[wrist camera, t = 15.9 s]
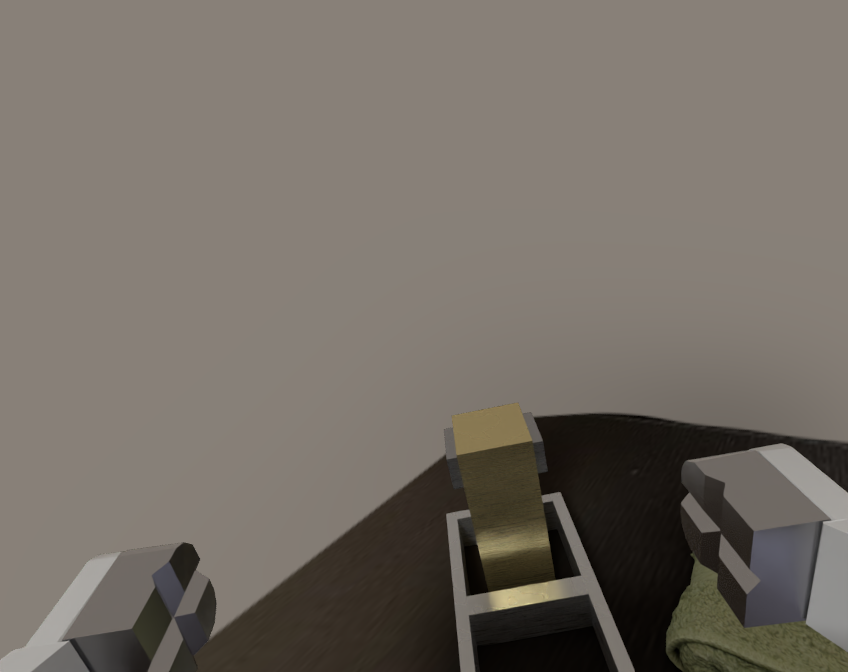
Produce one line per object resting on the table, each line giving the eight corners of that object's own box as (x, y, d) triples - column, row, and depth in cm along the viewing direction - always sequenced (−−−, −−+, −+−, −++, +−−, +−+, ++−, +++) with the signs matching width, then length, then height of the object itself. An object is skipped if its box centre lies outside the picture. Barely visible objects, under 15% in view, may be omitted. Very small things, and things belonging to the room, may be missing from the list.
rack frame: (479, 799, 22) (469, 764, 21) (453, 541, 36) (446, 513, 35) (663, 769, 21) (660, 733, 20) (564, 520, 35) (560, 492, 34)
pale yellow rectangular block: (481, 606, 30) (445, 457, 26) (475, 555, 34) (441, 417, 30) (568, 592, 30) (543, 438, 26) (551, 541, 34) (528, 400, 30)
